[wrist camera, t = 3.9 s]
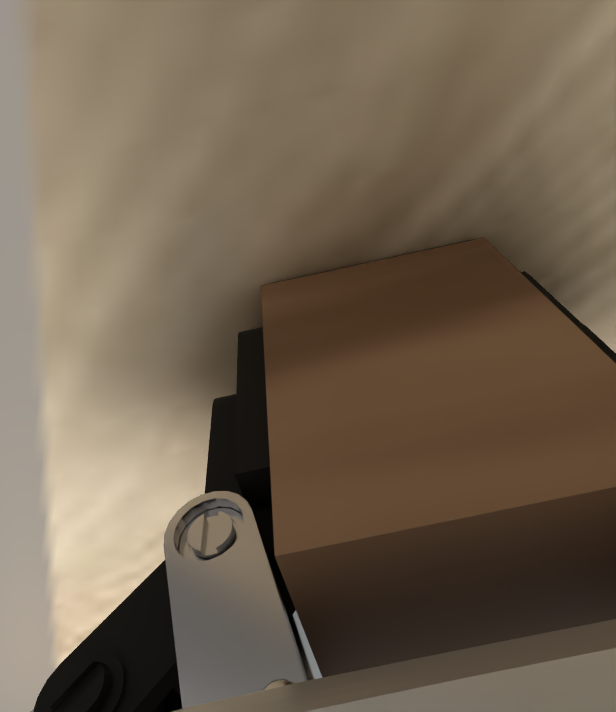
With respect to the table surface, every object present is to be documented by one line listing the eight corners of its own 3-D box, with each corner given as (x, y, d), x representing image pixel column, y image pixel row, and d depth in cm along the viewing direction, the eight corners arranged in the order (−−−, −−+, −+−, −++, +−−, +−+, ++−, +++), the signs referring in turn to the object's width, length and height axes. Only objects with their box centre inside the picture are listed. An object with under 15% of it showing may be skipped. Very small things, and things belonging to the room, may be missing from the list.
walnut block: (260, 286, 10) (274, 556, 5) (483, 237, 10) (722, 465, 5) (303, 443, 12) (340, 722, 8) (480, 406, 12) (634, 666, 7)
